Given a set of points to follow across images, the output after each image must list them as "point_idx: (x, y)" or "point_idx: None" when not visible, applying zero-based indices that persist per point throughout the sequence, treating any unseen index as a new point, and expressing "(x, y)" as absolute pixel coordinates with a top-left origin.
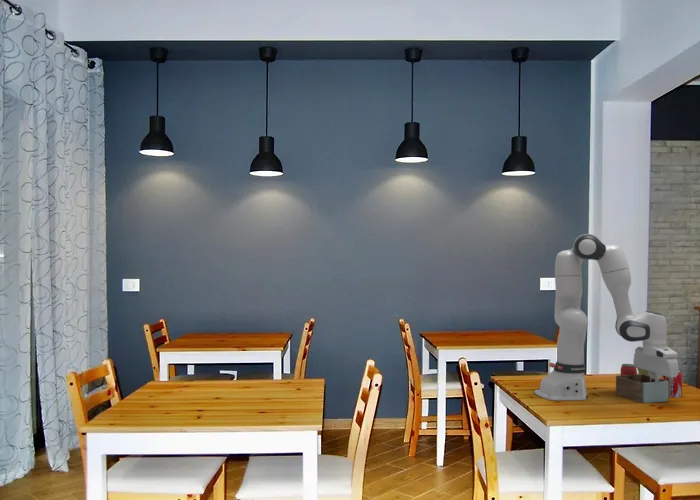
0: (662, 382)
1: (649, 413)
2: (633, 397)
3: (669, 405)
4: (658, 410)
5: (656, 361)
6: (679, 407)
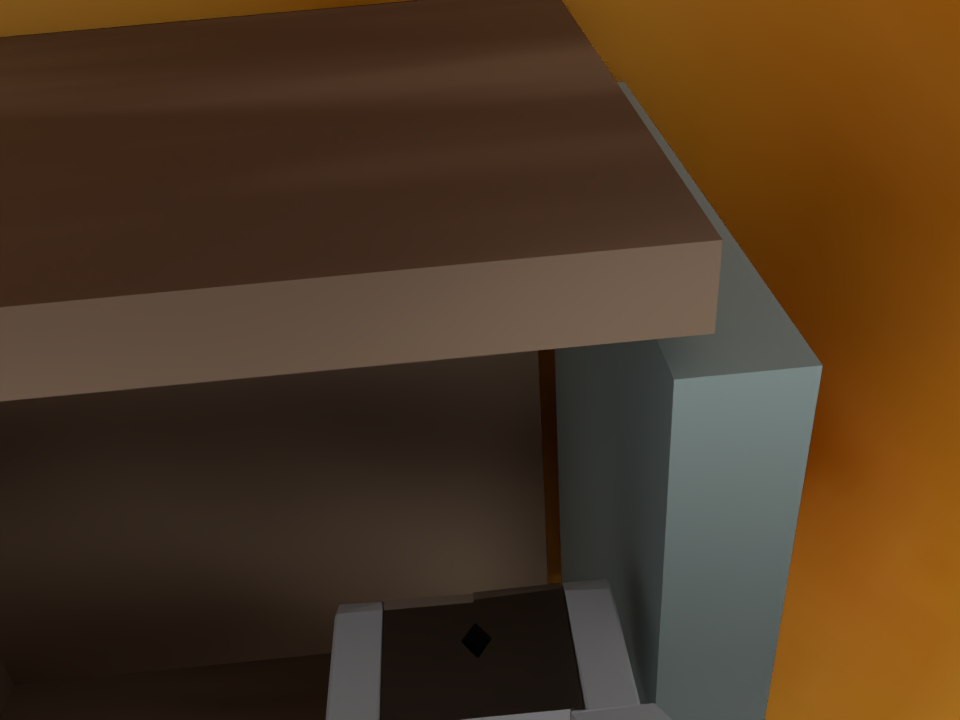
0: (775, 604)
1: (922, 692)
2: None
3: (715, 126)
4: (877, 524)
5: None
6: (922, 14)
